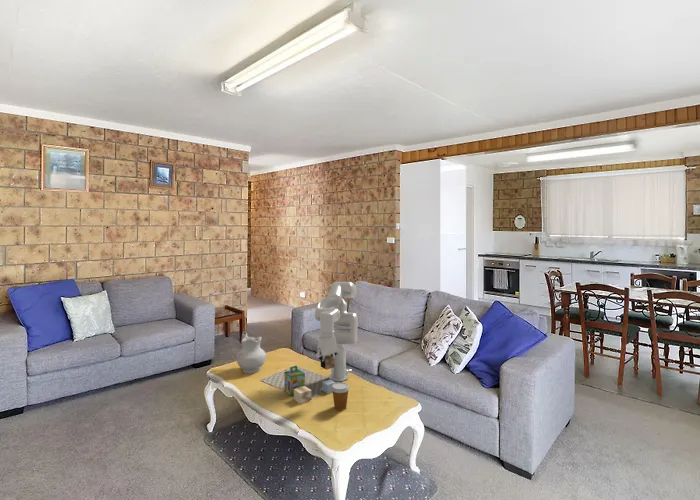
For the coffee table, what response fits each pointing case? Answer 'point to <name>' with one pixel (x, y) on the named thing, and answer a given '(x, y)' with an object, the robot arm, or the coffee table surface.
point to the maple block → (302, 394)
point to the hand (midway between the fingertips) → (327, 365)
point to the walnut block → (329, 362)
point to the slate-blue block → (327, 386)
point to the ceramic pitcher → (251, 354)
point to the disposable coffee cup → (340, 395)
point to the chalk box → (294, 380)
